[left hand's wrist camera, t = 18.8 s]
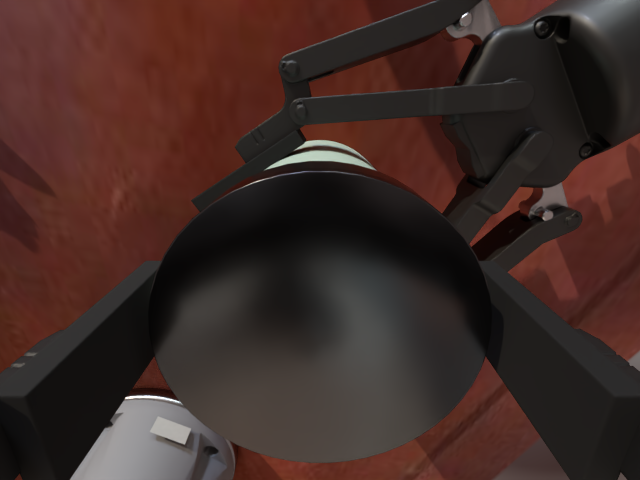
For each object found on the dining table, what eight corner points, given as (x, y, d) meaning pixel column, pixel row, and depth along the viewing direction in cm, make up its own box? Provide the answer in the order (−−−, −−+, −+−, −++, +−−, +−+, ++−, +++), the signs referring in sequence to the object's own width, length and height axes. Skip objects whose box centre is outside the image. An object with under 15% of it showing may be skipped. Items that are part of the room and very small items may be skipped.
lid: (415, 432, 14) (430, 481, 12) (168, 394, 14) (143, 440, 12) (510, 196, 11) (551, 213, 9) (184, 128, 10) (153, 132, 8)
